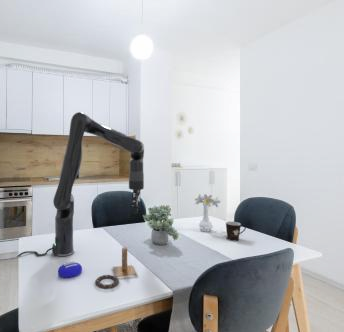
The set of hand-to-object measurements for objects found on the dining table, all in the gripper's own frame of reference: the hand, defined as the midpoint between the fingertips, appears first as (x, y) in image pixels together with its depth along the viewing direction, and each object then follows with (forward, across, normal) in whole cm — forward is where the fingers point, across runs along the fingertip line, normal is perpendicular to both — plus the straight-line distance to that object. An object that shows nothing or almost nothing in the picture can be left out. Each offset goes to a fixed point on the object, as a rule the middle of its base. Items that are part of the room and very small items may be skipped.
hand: (136, 211), depth 124 cm
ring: (+23, +28, -8) cm, 37 cm away
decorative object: (+24, +24, -26) cm, 43 cm away
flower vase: (+24, -55, +41) cm, 73 cm away
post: (+24, +17, -3) cm, 30 cm away
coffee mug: (+24, -39, +57) cm, 73 cm away
